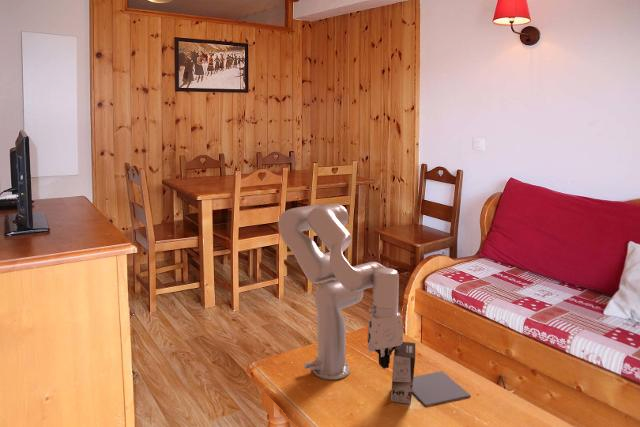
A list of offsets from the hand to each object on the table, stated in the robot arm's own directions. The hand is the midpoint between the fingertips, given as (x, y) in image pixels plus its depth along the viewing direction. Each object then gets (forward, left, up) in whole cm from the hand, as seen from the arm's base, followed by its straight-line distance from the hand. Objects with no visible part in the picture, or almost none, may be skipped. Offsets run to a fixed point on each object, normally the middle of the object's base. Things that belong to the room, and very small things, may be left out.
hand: (384, 366), depth 161 cm
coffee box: (+7, 0, -11) cm, 13 cm away
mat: (+18, 0, -11) cm, 22 cm away
